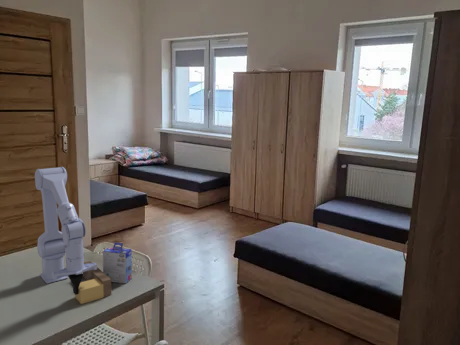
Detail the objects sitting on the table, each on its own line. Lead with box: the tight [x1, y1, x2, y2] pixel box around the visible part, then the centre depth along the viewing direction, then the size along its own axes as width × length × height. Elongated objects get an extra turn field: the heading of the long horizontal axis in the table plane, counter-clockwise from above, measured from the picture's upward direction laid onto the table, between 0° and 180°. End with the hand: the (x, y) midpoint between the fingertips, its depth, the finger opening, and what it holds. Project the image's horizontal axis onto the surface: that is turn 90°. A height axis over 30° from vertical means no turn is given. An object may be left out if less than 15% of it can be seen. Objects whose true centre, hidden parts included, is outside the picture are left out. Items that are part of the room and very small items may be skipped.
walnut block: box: [82, 260, 112, 298], centre depth 152 cm, size 20×3×6 cm, turn 40°
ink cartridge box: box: [102, 242, 133, 284], centre depth 156 cm, size 10×6×14 cm, turn 78°
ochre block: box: [74, 278, 104, 305], centre depth 143 cm, size 6×8×5 cm
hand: (76, 293), depth 140 cm, fingers closed, pressing on ochre block
